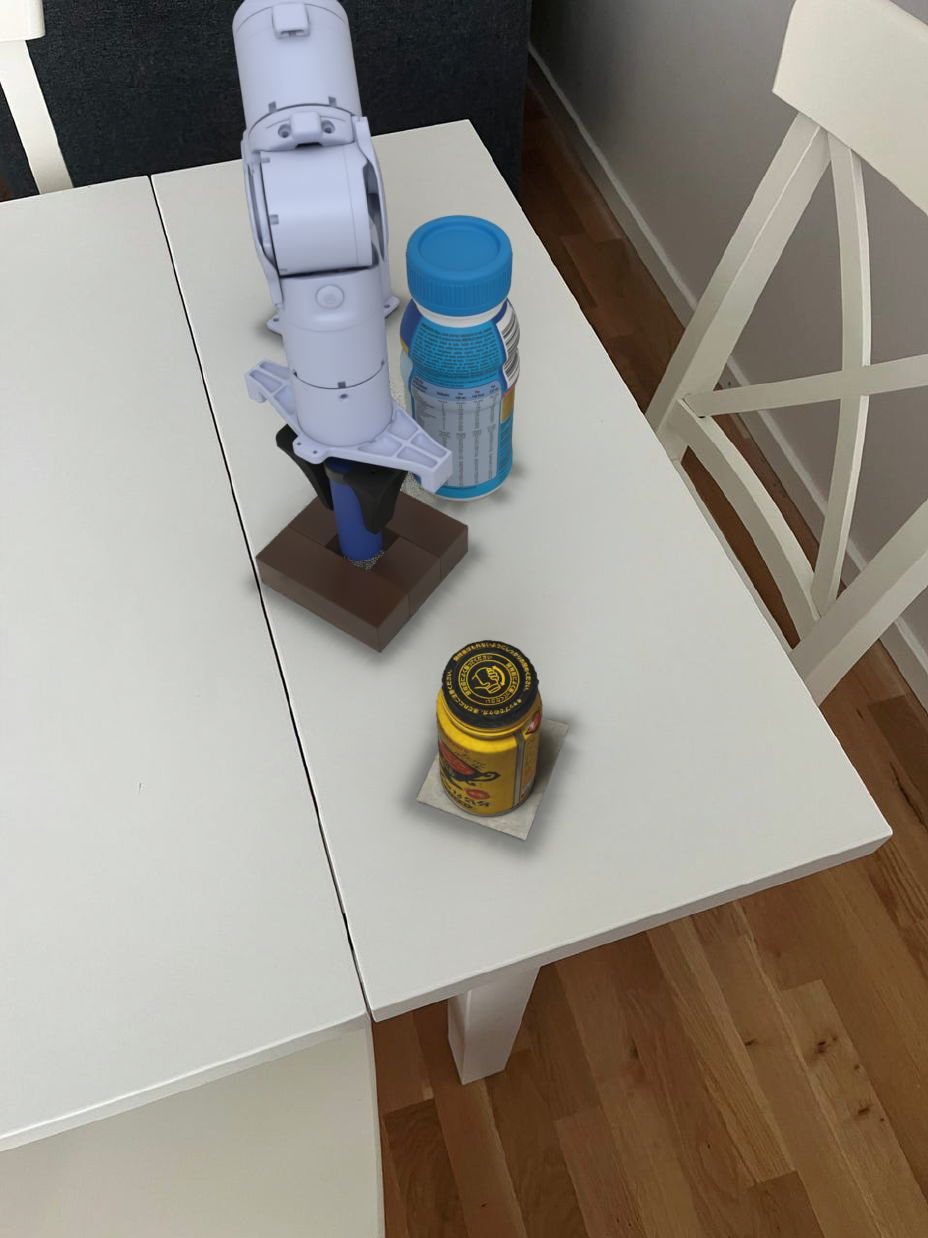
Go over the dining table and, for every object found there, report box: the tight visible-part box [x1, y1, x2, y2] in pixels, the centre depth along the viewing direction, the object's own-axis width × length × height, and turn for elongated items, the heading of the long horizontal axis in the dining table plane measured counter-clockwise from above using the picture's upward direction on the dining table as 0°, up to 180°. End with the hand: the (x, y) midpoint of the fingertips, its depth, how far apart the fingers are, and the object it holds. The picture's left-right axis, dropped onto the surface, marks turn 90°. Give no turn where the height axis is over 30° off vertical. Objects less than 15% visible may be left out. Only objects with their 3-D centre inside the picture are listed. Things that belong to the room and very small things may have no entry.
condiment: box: [415, 639, 570, 841], centre depth 58 cm, size 7×8×12 cm
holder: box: [254, 489, 469, 653], centre depth 71 cm, size 11×11×3 cm
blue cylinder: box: [323, 456, 383, 562], centre depth 66 cm, size 3×3×9 cm
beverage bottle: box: [399, 214, 521, 502], centre depth 70 cm, size 8×8×20 cm
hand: (358, 511), depth 67 cm, fingers closed on blue cylinder, 3 cm apart
